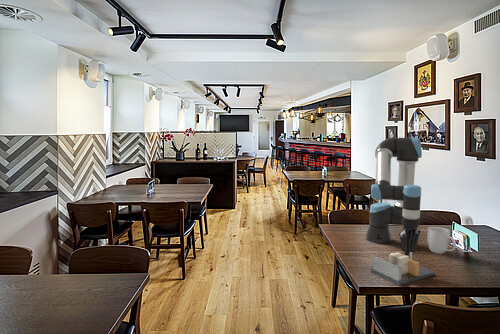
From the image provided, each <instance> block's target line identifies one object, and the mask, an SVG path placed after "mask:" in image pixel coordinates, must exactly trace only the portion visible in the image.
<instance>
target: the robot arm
mask: <svg viewBox="0 0 500 334" xmlns="http://www.w3.org/2000/svg"><path fill="white" fill-rule="evenodd" d="M422 154H423V152H422V143H421V140H420V139H419V138H417V137H388V138H386V139H384V140H382V141H381V142H380V143H379V144H378V145H377V147H376V149H375V152H374V156H375V158H376V167H375V168H376V169H375V184H373V183H372V184H371V187H370V188H371V189H370V197H371V198H372V199H376V200H387V201H395V202H394V203H393V205H391V204H390V202H375V203H372V204H370V206H369V226H368V229H367V232H366V234H365V239H366V240H367V241H369V242H372V243H376V244H390V243H391V242H393V241H392V239H393V238H392V236H391V231H390V226H397V227H398V226H400V227H402V232H399V233H398V236H399V237H400V245H401V246H400V247H401V251H402V252H404V255H406V256H409V259H411V260H413V253H416V250H417V248H418V247H417V246H418V241H419V237H420V234H421V232H422V231H421V230H419V229H418V227H419V226H420V221H421V220H420V218H421V198H422V187H421V186H420V185H417V184H415V174H416V173H415V171H416V163H418V162H419V159H421V158H422ZM392 158H396V161H397V163H398V178H397V179H398V180H397V185H392V184H391V181H392V179H391V177H392V174H391V173H392V165H391V164H392V160H391V159H392Z"/></svg>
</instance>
